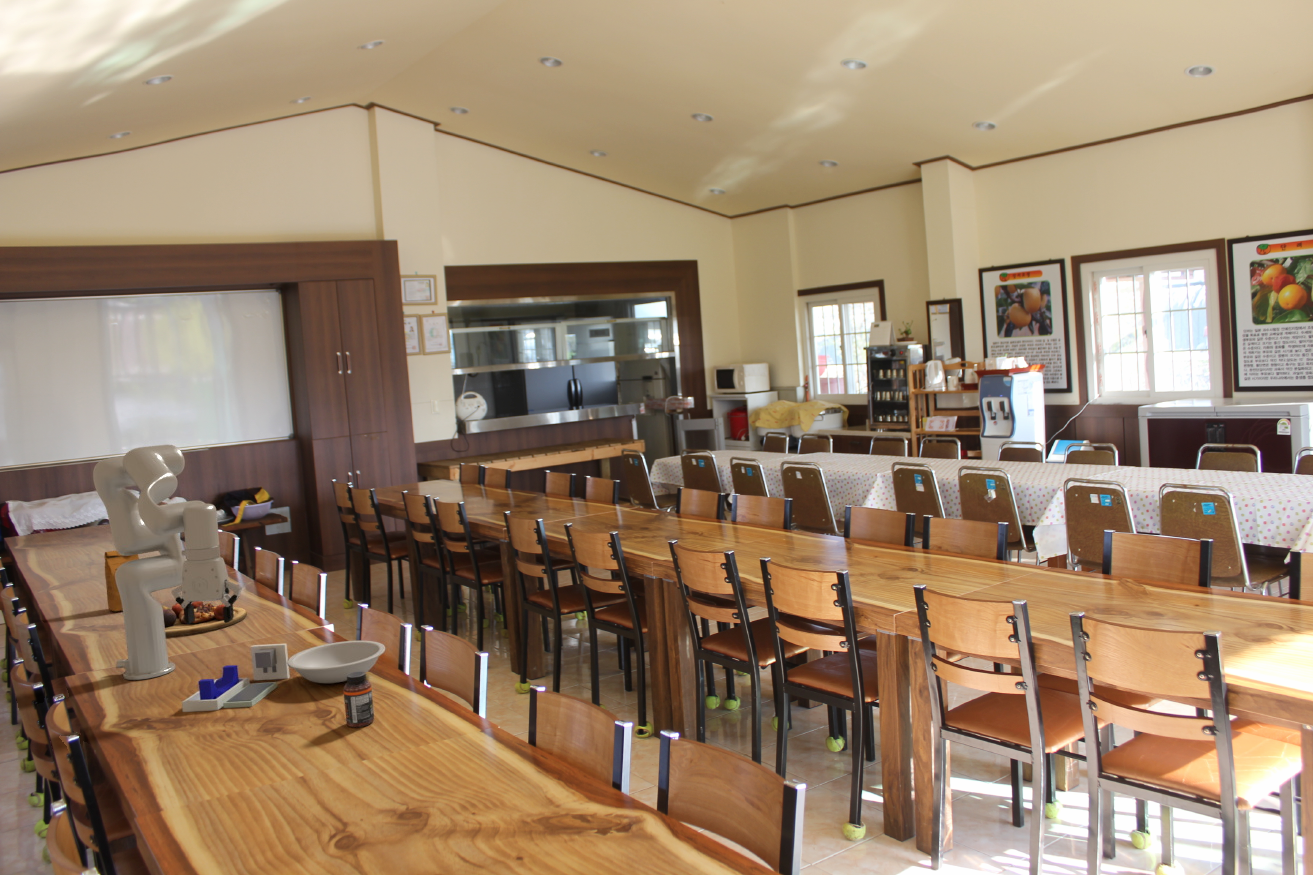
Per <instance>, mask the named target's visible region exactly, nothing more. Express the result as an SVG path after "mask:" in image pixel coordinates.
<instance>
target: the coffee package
mask: <svg viewBox="0 0 1313 875" xmlns="http://www.w3.org/2000/svg"><path fill="white" fill-rule="evenodd" d="M103 558H104V561H105V562H104V579H105V586H106V587H105V588H106V600H107V607H108V611H112V612H123V608H122V602H121V598H120V594H119V590H118V587H117V584H116V580H115V573H116V570H117V569H118V567H119V566H121V565H122V564H124V563H126V562H128V561H132V560H136V559H140V557H139V554H137V555H130V556H124V555H121V554H119V553H118V552H117V550H116V549H115V550H110V551H105V552H104V556H103Z"/></svg>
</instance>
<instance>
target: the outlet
mask: <svg viewBox="0 0 1313 875" xmlns="http://www.w3.org/2000/svg"><path fill="white" fill-rule="evenodd" d="M250 653H251V663H252V674H253V675H252V676H253V681H264V680H267V681H268V680H285V679H286V680H287V679H289V678H291V676H290V667H289V666H288V664H287V662H288V659H289V657H288V656H289V655H288V645H287V643H272V644H271V643H270V644H269V643H268V644H255V645H251V646H250Z"/></svg>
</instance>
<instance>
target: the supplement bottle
mask: <svg viewBox="0 0 1313 875" xmlns="http://www.w3.org/2000/svg"><path fill="white" fill-rule="evenodd" d="M366 673H367V672H366ZM366 673H365V672H363V671H357V672H352V673H349V674H348V675H347V681H346V683H345V685H344V686H343V701H344V708H345V710H344V711H345V721H346V725H347V726H348V727H351V728H362V727H366V726H369V725H370V724H372V723H373V722H374V720H375V714H374V702H373V701H374V700H373V690H372V684H371V682H370V681H369V680H367V676H366V675H367V674H366Z"/></svg>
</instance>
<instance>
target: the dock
mask: <svg viewBox="0 0 1313 875" xmlns="http://www.w3.org/2000/svg"><path fill="white" fill-rule="evenodd" d="M238 678H239V683H238V684H236V685H235V686H234V687H232V688H231V689H229V690H228V691H227V692H225V693H224V694H222V695H221V696H219V697H218V698H217V699H212V700H200V691H199V690H198V691H196V692H195V693H194V694H192V695H190V696H189V697H188V698H186V699H184V700H183V701H181V707H182V708H181V709H182V713H190V712H192V713H193V712H205V711H206V712H208V711H210V712H211V711H219V710H220V709H221V708H224V707H223V703H224V702H225V701H227V700H228V699H229V698H231V697H232V696H234V695H235V694H236V693H238V692H239V691H240V690H242V689H243V688H245V687H246V686H247V685H249V684H251V683H250V677H238ZM218 679H219V678H216V679H214V683H215V682H216V680H218Z"/></svg>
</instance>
